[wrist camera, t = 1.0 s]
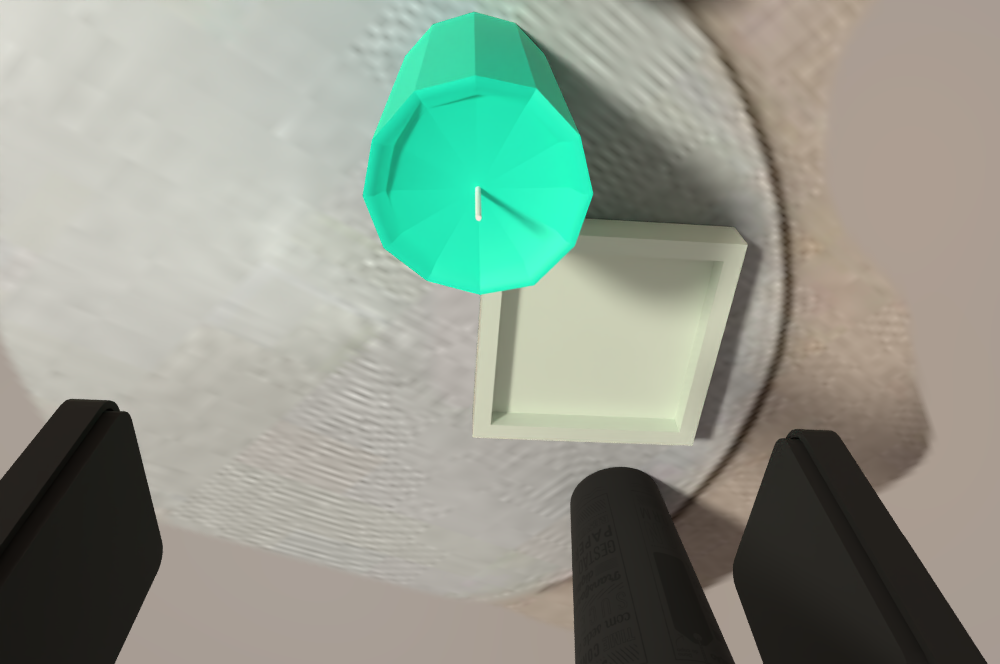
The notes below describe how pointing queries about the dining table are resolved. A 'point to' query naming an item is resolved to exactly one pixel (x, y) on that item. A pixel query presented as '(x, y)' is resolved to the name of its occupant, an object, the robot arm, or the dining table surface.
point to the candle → (477, 160)
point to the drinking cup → (635, 578)
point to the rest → (609, 337)
